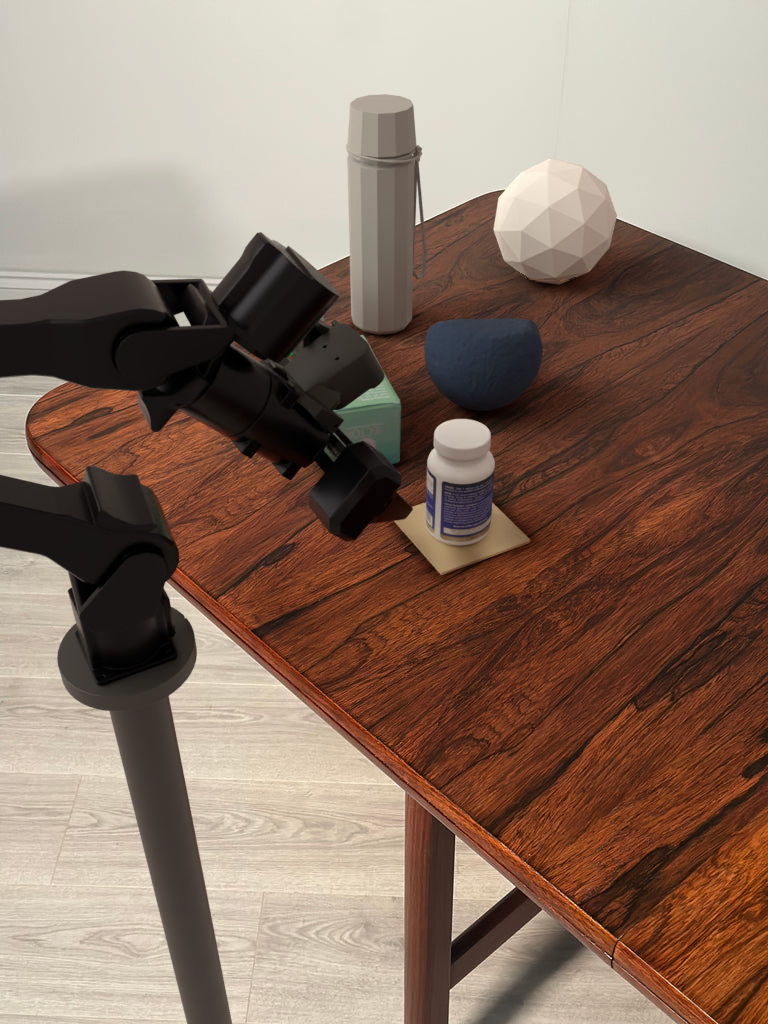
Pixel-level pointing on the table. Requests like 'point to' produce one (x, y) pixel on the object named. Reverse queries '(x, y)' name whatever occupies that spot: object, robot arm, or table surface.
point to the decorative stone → (483, 360)
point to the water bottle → (383, 211)
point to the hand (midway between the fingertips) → (380, 482)
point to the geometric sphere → (554, 221)
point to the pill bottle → (460, 483)
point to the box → (375, 419)
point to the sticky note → (456, 557)
